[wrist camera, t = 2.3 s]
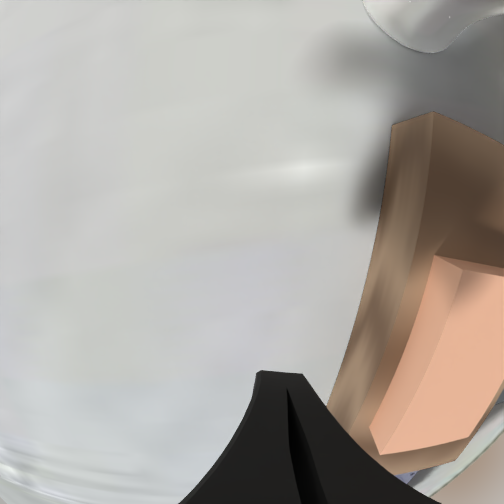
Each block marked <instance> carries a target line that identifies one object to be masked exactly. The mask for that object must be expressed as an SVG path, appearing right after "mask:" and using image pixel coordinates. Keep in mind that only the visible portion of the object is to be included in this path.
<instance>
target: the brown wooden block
mask: <svg viewBox="0 0 504 504" xmlns="http://www.w3.org/2000/svg"><path fill="white" fill-rule="evenodd" d="M434 255H436V256H442V257H447V258H453V259H458V260H463V261H469V262H474V263H479V264H484V265H489V266H494V267H499V268H504V145H503V144H501V143H499V142H497V141H495V140H494V139H492V138H490V137H488V136H486V135H484V134H482V133H480V132H478V131H476V130H474V129H472V128H470V127H468V126H466V125H464V124H462V123H459V122H457V121H455V120H453V119H450V118H448V117H446V116H443V115H441V114H439V113H436V112H434V111H433V112H430V113H427V114H424V115H421V116H418V117H415V118H412V119H409V120H406V121H403V122H400V123H397V124H394V125H392V130H391V140H390V149H389V158H388V166H387V173H386V180H385V187H384V194H383V200H382V206H381V212H380V217H379V223H378V228H377V233H376V238H375V243H374V248H373V252H372V257H371V261H370V266H369V270H368V274H367V278H366V282H365V286H364V290H363V294H362V298H361V302H360V305H359V309H358V313H357V316H356V320H355V323H354V327H353V330H352V333H351V337H350V340H349V343H348V346H347V349H346V352H345V356H344V359H343V362H342V365H341V368H340V370H339V373H338V376H337V379H336V382H335V385H334V387H333V390H332V393H331V396H330V398H329V401H328V403H327V406H326V407H327V409H328V410H329V411H330V412H331V414H332V415H333V416H334V417H335V419H336V420H337V421H338V422H339V424H340V425H341V426H342V427H343V428H344V430H345V431H346V432H347V433H348V434H349V435H350V436H351V437H352V438H353V439H354V441H355V442H356V443H357V444H358V445H359V446H360V447H361V448H362V449H363V450H364V451H365V452H366V453H368V454H369V455H370V456H371V457H372V458H373V459H374V460H376V461H377V462H378V463H379V464H380V465H381V466H383V467H384V468H385V469H386V470H387V471H389V472H390V473H391V474H393V475H399V474H404V473H409V472H413V471H418V470H422V469H426V468H430V467H434V466H438V465H442V464H445V463H449V462H452V461H455V460H456V459H457V458H458V456H459V455H460V454H461V453H462V451H463V450H464V449H465V447H466V446H467V445H468V443H469V442H470V441H471V439H472V438H473V436H474V435H475V434H476V432H477V431H478V429H479V428H480V426H481V425H482V423H483V422H484V420H485V419H486V417H487V416H488V414H489V413H490V411H491V409H492V408H493V406H494V404H495V403H496V401H497V399H498V398H499V396H500V394H501V392H502V391H503V389H504V380H503V382H502V384H501V386H500V387H499V389H498V391H497V393H496V395H495V396H494V398H493V400H492V401H491V403H490V405H489V406H488V408H487V410H486V411H485V413H484V415H483V416H482V418H481V419H480V421H479V422H478V424H477V425H476V427H475V428H474V430H473V431H472V433H471V434H470V435H469V437H467V438H463V439H460V440H456V441H452V442H448V443H444V444H440V445H435V446H431V447H426V448H421V449H416V450H410V451H404V452H398V453H391V454H384V455H380V454H379V451H378V449H377V446H376V444H375V441H374V438H373V436H372V433H371V431H370V428H369V426H370V425H371V423H372V421H373V419H374V417H375V415H376V413H377V411H378V409H379V407H380V405H381V403H382V401H383V399H384V397H385V394H386V392H387V390H388V388H389V386H390V384H391V381H392V379H393V377H394V374H395V372H396V370H397V367H398V365H399V363H400V360H401V358H402V355H403V353H404V350H405V347H406V345H407V342H408V340H409V337H410V334H411V331H412V328H413V326H414V323H415V320H416V317H417V314H418V311H419V308H420V304H421V301H422V298H423V295H424V291H425V288H426V284H427V281H428V277H429V273H430V270H431V266H432V262H433V258H434Z"/></svg>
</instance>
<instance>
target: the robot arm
mask: <svg viewBox="0 0 504 504" xmlns="http://www.w3.org/2000/svg"><path fill="white" fill-rule="evenodd" d="M416 473H417V471H413V472H409V473H404V474H399V475H393V474H391V473H390V472H389V471H387V470H386V469H385V468H384V467H383V466H381V465H380V464H379V463H378V462H377V461H376V460H374V459H373V458H372V457H371V456H370V455H369V454H368V453H366V452H365V451H364V450H363V449H362V448H361V447H360V446H359V445H358V444H357V443H356V442H355V441H354V439H353V438H352V437H351V436H350V435H349V434H348V433H347V432H346V431H345V430H344V428H343V427H342V426H341V425H340V424H339V422H338V421H337V420H336V419H335V417H334V416H333V415H332V414H331V412H330V411H329V410H328V409H327V407H326V406H325V405H324V403H323V402H322V401H321V399H320V398H319V396H318V395H317V394H316V392H315V391H314V389H313V388H312V387H311V385H310V384H309V382H308V381H307V379H306V378H305V377H304V375H303V374H298V373H285V372H274V371H264V370H261V371H259V372H257V373H256V378H255V384H254V389H253V394H252V399H251V401H250V403H249V406H248V408H247V410H246V413H245V415H244V417H243V419H242V421H241V423H240V425H239V426H238V428H237V430H236V432H235V434H234V435H233V437H232V439H231V440H230V442H229V444H228V445H227V447H226V448H225V450H224V451H223V453H222V454H221V456H220V457H219V458H218V460H217V461H216V462H215V464H214V465H213V466H212V468H211V469H210V470H209V471H208V473H207V474H206V475H205V476H204V477H203V478H202V480H201V481H200V482H199V483H198V484H197V485H196V487H195V488H194V489H193V490H192V491H191V492H190V493H189V494H188V495H187V496H186V497H185V498H184V499H183V500H182V501H181V502H180V503H179V504H441V503H439V502H437V501H435V500H433V499H431V498H429V497H427V496H425V495H424V494H422V493H420V492H418V491H417V490H415V489H413V488H412V487H410V486H409V485H407V483H408V482H409V481H410V480H411V479H412V478H413V476H414V475H415V474H416Z"/></svg>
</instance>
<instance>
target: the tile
mask: <svg viewBox="0 0 504 504" xmlns="http://www.w3.org/2000/svg"><path fill="white" fill-rule="evenodd" d="M503 380H504V268H499V267H494V266H489V265H484V264H479V263H474V262H469V261H463V260H458V259H453V258H447V257H442V256H436V255H434V258H433V262H432V266H431V270H430V273H429V277H428V281H427V284H426V288H425V291H424V295H423V298H422V301H421V304H420V308H419V311H418V314H417V317H416V320H415V323H414V326H413V328H412V331H411V334H410V337H409V340H408V342H407V345H406V347H405V350H404V353H403V355H402V358H401V360H400V363H399V365H398V367H397V370H396V372H395V374H394V377H393V379H392V381H391V384H390V386H389V388H388V390H387V392H386V394H385V397H384V399H383V401H382V403H381V405H380V407H379V409H378V411H377V413H376V415H375V417H374V419H373V421H372V423H371V425H370V426H369V428H370V431H371V433H372V436H373V438H374V441H375V444H376V446H377V449H378V451H379V454H380V455H384V454H391V453H398V452H404V451H410V450H416V449H421V448H426V447H431V446H435V445H440V444H444V443H448V442H452V441H456V440H460V439H463V438H467V437H469V435H470V434H471V433H472V431H473V430H474V428H475V427H476V425H477V424H478V422H479V421H480V419H481V418H482V416H483V415H484V413H485V411H486V410H487V408H488V406H489V405H490V403H491V401H492V400H493V398H494V396H495V395H496V393H497V391H498V389H499V387H500V386H501V384H502V382H503Z"/></svg>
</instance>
